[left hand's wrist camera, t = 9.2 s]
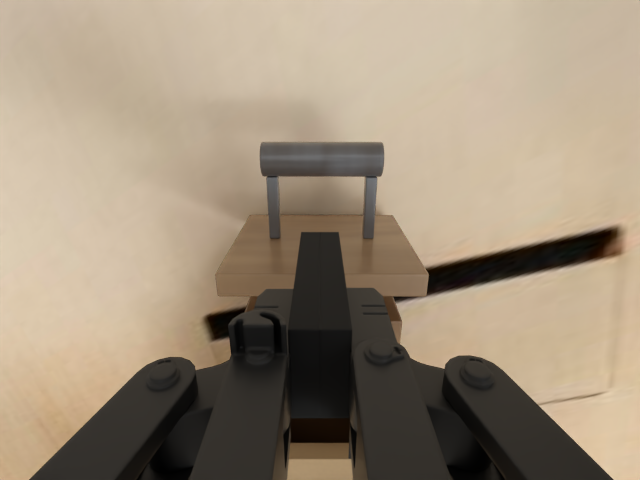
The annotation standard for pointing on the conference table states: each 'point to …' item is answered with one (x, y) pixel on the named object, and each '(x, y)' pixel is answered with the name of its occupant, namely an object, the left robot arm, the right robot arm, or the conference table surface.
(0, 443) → the conference table surface
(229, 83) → the conference table surface
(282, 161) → the drawer
